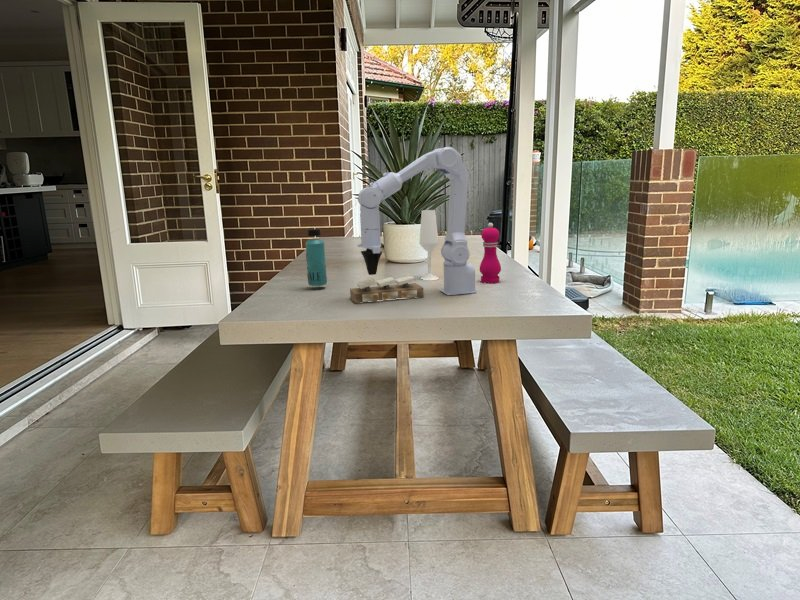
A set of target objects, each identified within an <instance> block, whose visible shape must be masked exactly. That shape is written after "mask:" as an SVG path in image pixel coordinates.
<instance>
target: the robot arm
mask: <svg viewBox="0 0 800 600" xmlns="http://www.w3.org/2000/svg"><path fill="white" fill-rule="evenodd" d="M428 169H435V170H436V171H438V172H440V173H442V174H444V176H445V177H447V179H449V181H450V184H449V198H448V200H449V201H448V214H447V215H448V220H447V233H446V234H445V236H444V241H443V245H442V246H441V249H440V252H441V253H440V254H441V257H442V258H443V259H444V261H443V288H439V292H441V293H443V294H445V295H446V296H454V295H465V294H474V293H477V291H476V269H475V266H474V264H473V263H470V262H469V263H468V260H469V259H470V255H471V254H470V250H469V247H468V239H467V237H466V235H465V234H466V233H465V231H466V215H467V213H466V212H467V199H468V198H467V197H468V184H469V183H468V182H469V173H468V171H467V168H466V166H465V164H464V161H463V160H462V155H461V154H460V152H458V151H457V150H456V149H455V148H454V147H451V146H445V147H442V148H441V147H438V148H435V149H433V150H432V151H429V152H426V153H425V154H422V155H421V156H420V157H419V158H418V157H417V159H415V160H414V161H413V162H411V163H409V164H408V165H407V166H405V167H404V168H402V169H401V170H399V171H398V172H394V171H393V172H392V171H390V172H384V173H383V174H382V177H381V178H379V179H377V180H375V181H374V182H372V181H371V182H370V183H369V186H368V187H363V188H362V189H361V190H359V193H358V195H357V202H358V204H359V209H360V210H359V212H360V213H359V221H360V224H359V225H360V240H361V241H360V243H357V247H358V248H362V249H363V248H364V249H366V250H362V251H360V253H361V255H362V257H363V260H364V262H365V267H366V271H367V274H368V275H369V276H372V275H377V271H378V267H379V266H378V265H379V262H380V259H381V256H382V255H383V251H381V247H382V243H381V241H382V240H381V222H380V221H381V220H380V219H381V217H380V207H379V206H380V204H381V202H382V201H385V200H386V199H387V198H389V197H390V196H392V195H394V194H395V193H397V192H398V191H401V189H402V187H403V183H404V182H406V181H407V180H410V179H411V178H413V177H414V176H417V175H418V174H419V173H421V172H423V171H424V170H428ZM454 194H456V195H454Z"/></svg>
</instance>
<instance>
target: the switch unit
mask: <svg viewBox="0 0 800 600" xmlns="http://www.w3.org/2000/svg"><path fill="white" fill-rule="evenodd" d="M349 294H350V296H349V297H351V298H350V299H351V300H352V302H353V301H354V302H355V303H360V302H368V301H377V300H386V299H396V298H413V299H416V298H415V297H424V287H423V286H421V285H419V284H418V283H416V282H410V283H406V284H402V285H398V284H389V285H386V286H382V287H380V286H378V285H376V286H368V287H365V288H362V289H360V288H359V287H354V288H353V287H352V288H349ZM354 302H353V303H354ZM355 303H354V304H355ZM360 304H361V303H360Z"/></svg>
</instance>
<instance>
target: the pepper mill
mask: <svg viewBox="0 0 800 600" xmlns="http://www.w3.org/2000/svg"><path fill="white" fill-rule="evenodd" d="M493 226H494V224H493V223H492V222H489V223H487V227H486V228H484V229H483V230H482V232H481V239H482V240H483V242H482V246H483V249H484V251H483V252H484V254H483V258H482V260H481V262H480V264H479V272H480V274H481V276H480V282H481V283H483V284H498V283H500V276H499V274H500V273H501V272H502V266H501V263H500V260H499V259H498V255H497V247H499V244H498V243H499V239H500V231H499V229H497V228H496V227H493Z"/></svg>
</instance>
